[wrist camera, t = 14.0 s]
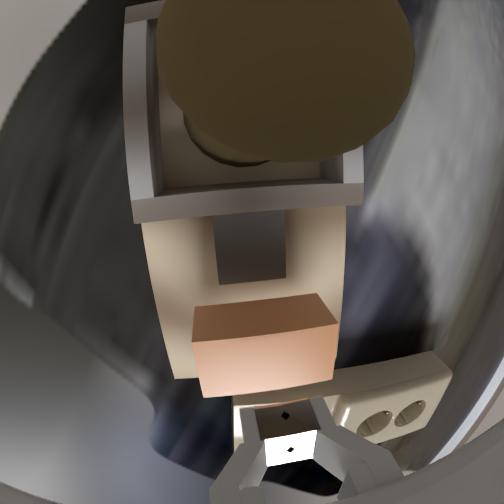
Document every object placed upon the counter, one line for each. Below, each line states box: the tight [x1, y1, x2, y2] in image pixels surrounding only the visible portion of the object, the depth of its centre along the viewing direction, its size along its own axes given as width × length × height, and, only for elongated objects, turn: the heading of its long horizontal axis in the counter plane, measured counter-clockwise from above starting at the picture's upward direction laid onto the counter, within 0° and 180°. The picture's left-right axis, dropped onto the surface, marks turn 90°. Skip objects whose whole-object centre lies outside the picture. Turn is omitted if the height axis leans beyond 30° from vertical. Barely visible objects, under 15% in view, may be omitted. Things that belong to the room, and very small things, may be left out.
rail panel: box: [123, 0, 364, 379], centre depth 14 cm, size 22×11×4 cm, turn 4°
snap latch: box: [191, 293, 339, 398], centre depth 13 cm, size 3×6×3 cm, turn 93°
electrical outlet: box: [231, 351, 453, 452], centre depth 20 cm, size 7×4×18 cm
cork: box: [156, 0, 415, 167], centre depth 8 cm, size 6×6×11 cm
